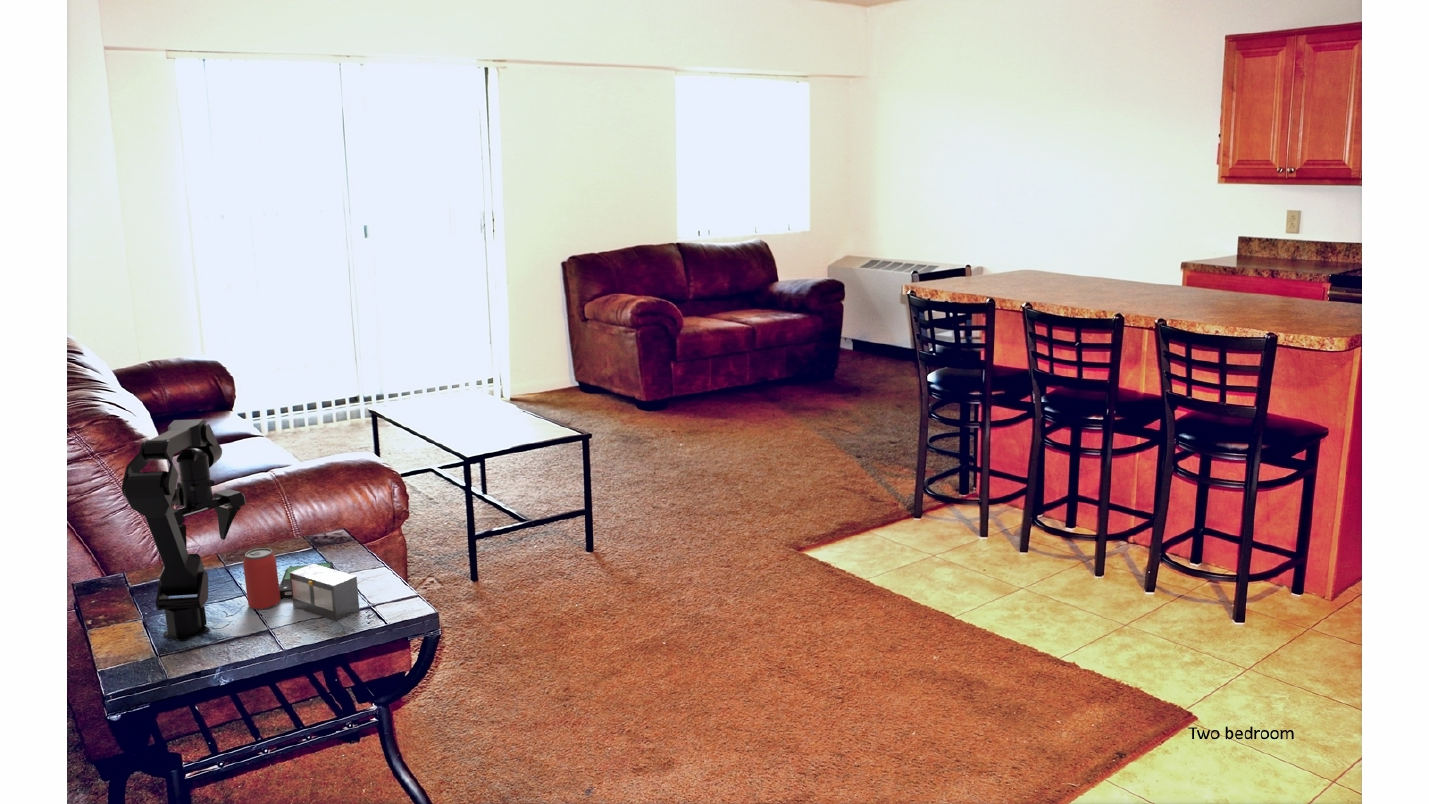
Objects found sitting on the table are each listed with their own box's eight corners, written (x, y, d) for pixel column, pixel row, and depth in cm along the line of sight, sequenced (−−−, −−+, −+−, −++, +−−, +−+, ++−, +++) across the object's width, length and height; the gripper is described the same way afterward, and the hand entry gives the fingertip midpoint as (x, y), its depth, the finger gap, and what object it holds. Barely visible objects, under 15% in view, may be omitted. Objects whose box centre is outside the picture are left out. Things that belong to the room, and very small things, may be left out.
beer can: (256, 597, 235) (250, 546, 232) (286, 598, 235) (280, 547, 232) (242, 610, 229) (236, 558, 226) (272, 611, 229) (266, 558, 226)
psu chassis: (335, 622, 223) (331, 586, 221) (291, 607, 230) (288, 573, 228) (359, 611, 228) (356, 576, 226) (316, 597, 235) (312, 563, 234)
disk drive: (328, 597, 237) (334, 572, 251) (327, 586, 236) (333, 560, 250) (278, 602, 234) (287, 576, 248) (277, 590, 234) (286, 565, 248)
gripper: (212, 460, 239) (219, 526, 242) (130, 482, 223) (140, 552, 227) (243, 468, 233) (250, 535, 237) (162, 491, 217) (171, 562, 221)
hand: (203, 545), depth 230 cm, fingers open, 9 cm apart
